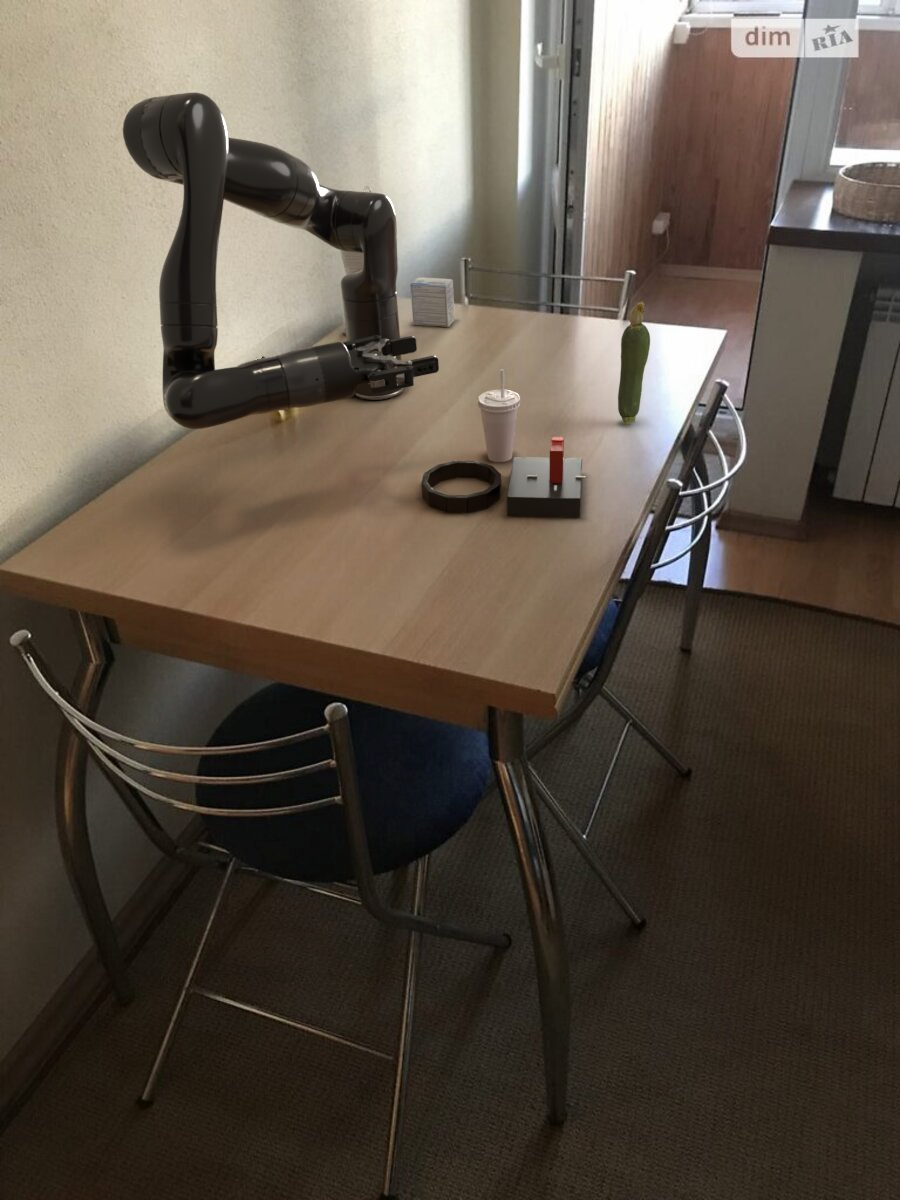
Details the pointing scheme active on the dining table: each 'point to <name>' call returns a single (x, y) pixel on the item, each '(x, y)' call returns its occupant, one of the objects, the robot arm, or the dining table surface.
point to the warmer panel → (544, 488)
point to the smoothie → (499, 421)
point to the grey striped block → (432, 302)
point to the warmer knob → (556, 460)
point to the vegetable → (633, 364)
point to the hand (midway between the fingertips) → (426, 353)
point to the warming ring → (461, 501)
